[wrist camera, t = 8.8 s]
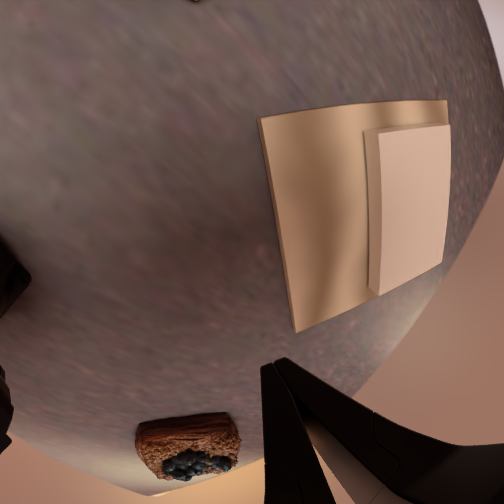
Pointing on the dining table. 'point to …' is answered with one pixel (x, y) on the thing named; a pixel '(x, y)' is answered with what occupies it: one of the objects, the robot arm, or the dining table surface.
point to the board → (328, 199)
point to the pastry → (188, 445)
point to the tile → (406, 201)
